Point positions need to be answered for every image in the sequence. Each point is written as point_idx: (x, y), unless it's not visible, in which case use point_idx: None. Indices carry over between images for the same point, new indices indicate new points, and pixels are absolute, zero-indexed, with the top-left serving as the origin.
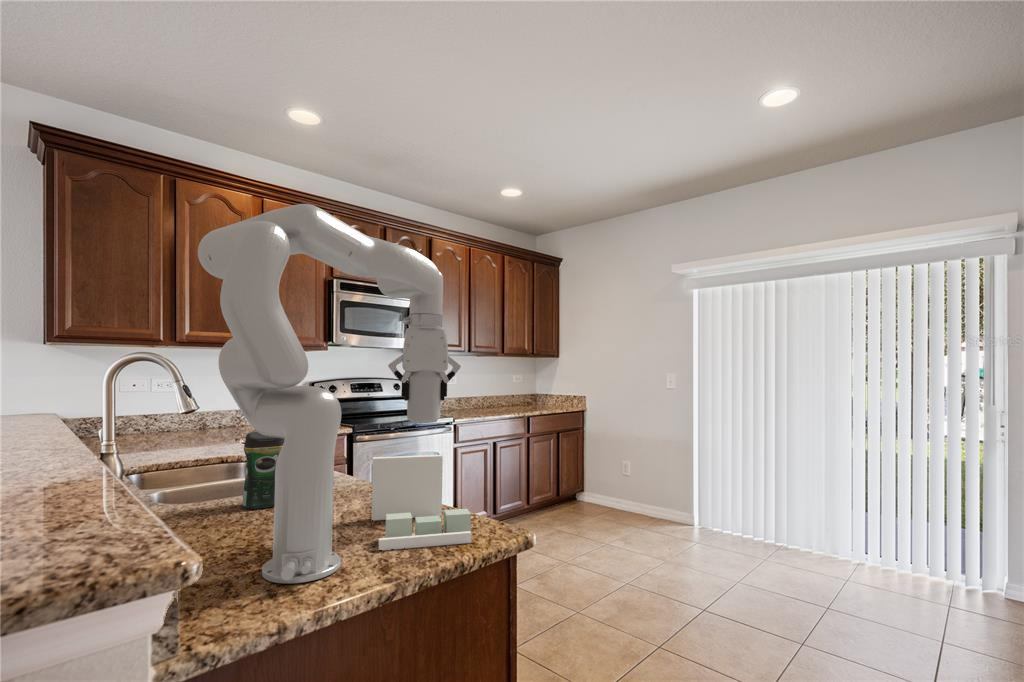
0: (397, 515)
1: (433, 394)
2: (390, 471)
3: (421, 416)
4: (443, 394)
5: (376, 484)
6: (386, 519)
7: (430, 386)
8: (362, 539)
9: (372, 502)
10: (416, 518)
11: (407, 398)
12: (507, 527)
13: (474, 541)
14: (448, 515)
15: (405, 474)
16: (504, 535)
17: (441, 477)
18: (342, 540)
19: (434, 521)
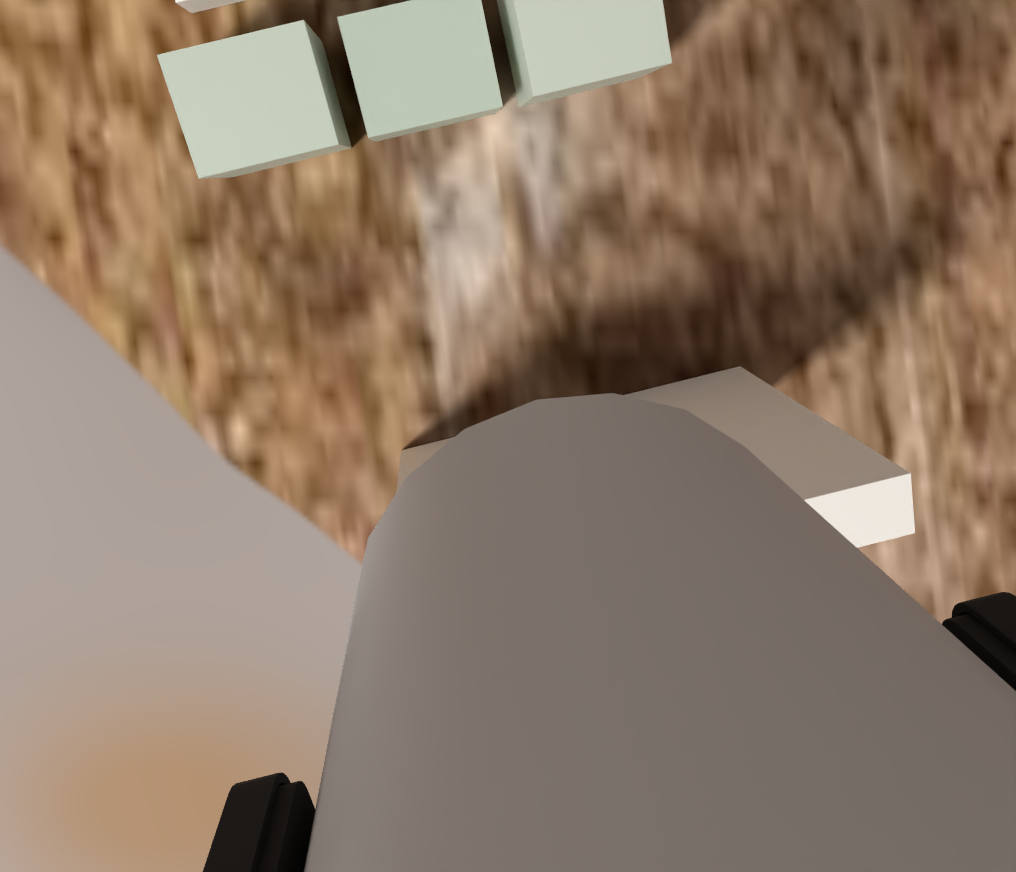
0: (601, 29)
1: (435, 663)
2: None
3: (604, 406)
4: (227, 865)
5: (796, 423)
6: None
7: (533, 754)
8: (746, 66)
9: (773, 388)
10: (492, 77)
11: (979, 613)
12: (16, 250)
13: (168, 10)
14: (294, 23)
15: None
16: (13, 109)
17: None
18: (838, 54)
19: (379, 10)
